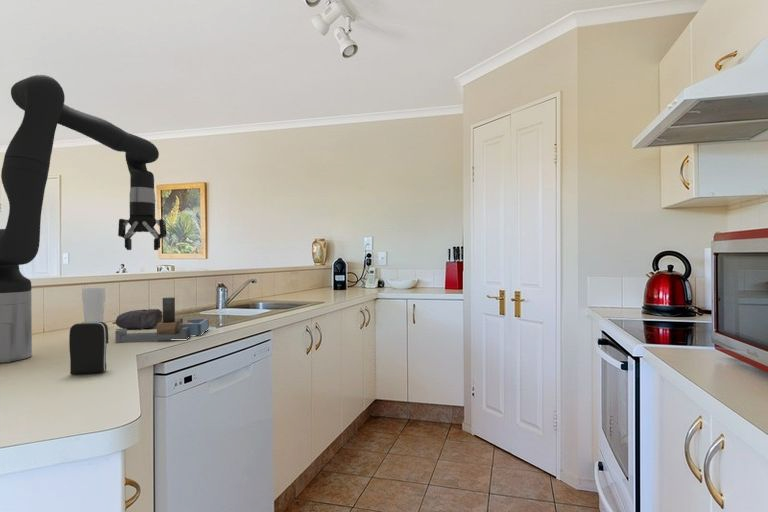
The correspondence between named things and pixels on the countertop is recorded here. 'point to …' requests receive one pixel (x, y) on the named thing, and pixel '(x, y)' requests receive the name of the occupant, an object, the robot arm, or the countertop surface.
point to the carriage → (169, 318)
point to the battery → (88, 347)
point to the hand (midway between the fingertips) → (142, 250)
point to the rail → (149, 336)
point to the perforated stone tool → (139, 319)
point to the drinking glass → (93, 303)
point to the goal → (196, 326)
